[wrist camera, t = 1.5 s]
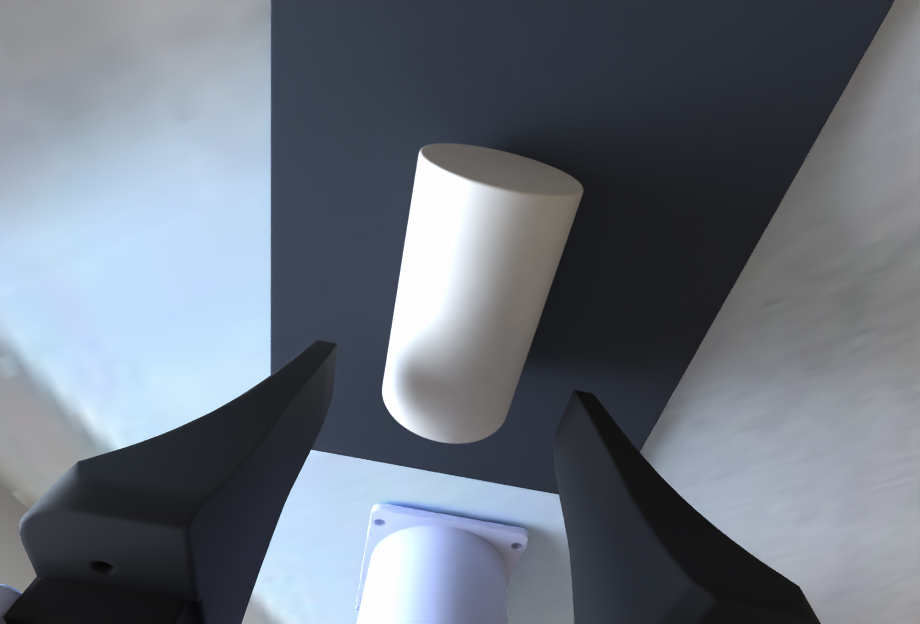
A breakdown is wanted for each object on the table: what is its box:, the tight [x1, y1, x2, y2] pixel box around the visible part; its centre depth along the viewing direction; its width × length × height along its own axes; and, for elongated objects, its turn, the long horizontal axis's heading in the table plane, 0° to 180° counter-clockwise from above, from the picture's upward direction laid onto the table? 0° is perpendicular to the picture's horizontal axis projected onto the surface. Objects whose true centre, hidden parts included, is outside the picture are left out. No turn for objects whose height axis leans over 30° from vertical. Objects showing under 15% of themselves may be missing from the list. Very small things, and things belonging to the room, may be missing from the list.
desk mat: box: [271, 0, 895, 494], centre depth 16 cm, size 22×16×1 cm
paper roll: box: [382, 143, 583, 444], centre depth 14 cm, size 8×4×4 cm, turn 168°
